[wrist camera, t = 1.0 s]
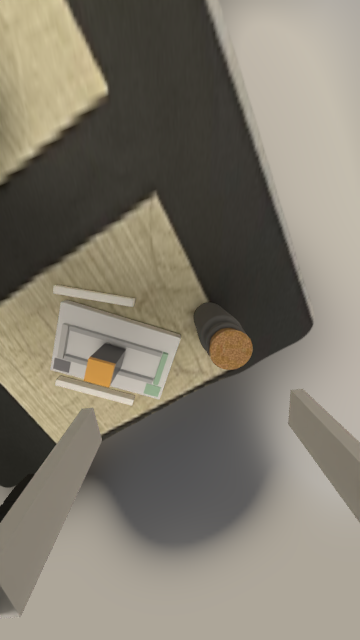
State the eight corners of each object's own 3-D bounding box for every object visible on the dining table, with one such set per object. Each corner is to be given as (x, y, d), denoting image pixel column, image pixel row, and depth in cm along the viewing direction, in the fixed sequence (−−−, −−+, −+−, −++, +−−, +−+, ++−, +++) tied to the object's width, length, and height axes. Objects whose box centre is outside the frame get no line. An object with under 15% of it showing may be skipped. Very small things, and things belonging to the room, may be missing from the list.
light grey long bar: (59, 381, 37) (55, 385, 36) (60, 375, 37) (56, 379, 35) (133, 400, 38) (131, 405, 37) (135, 395, 38) (133, 400, 37)
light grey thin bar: (58, 292, 32) (53, 293, 31) (58, 284, 32) (53, 285, 30) (134, 305, 33) (132, 307, 32) (135, 298, 33) (133, 299, 31)
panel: (57, 364, 36) (47, 372, 33) (67, 299, 33) (57, 302, 30) (160, 393, 38) (158, 402, 35) (180, 334, 34) (180, 339, 32)
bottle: (217, 335, 34) (245, 380, 20) (189, 326, 34) (197, 366, 20) (228, 307, 33) (267, 333, 19) (199, 298, 33) (215, 318, 18)
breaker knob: (100, 361, 33) (83, 380, 27) (104, 343, 32) (88, 358, 26) (121, 367, 33) (108, 387, 28) (126, 349, 32) (114, 365, 27)
